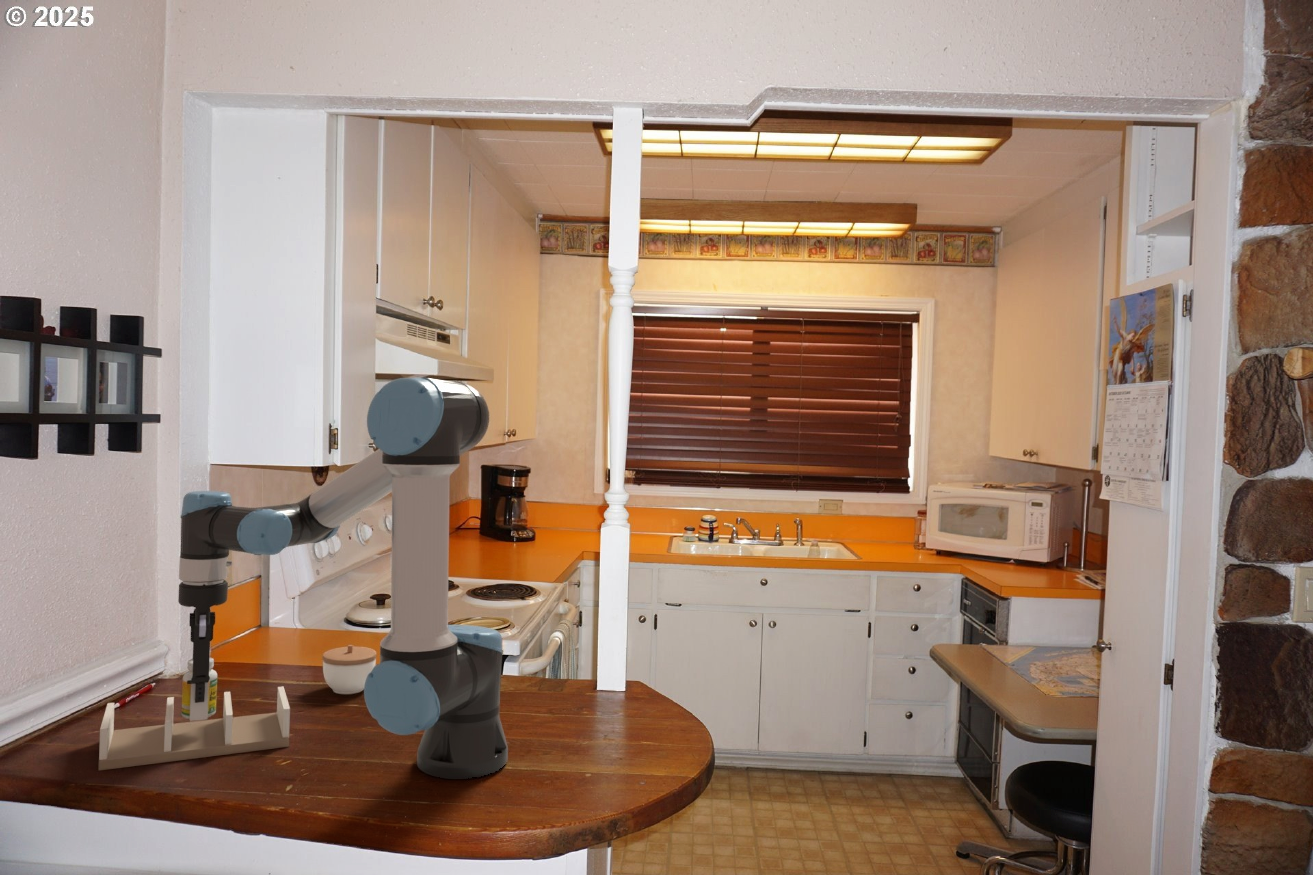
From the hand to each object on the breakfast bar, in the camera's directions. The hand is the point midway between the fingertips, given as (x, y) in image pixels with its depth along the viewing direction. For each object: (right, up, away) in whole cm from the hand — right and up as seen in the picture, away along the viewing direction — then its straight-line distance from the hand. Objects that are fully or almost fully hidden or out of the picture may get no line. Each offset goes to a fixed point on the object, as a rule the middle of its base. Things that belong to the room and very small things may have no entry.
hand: (198, 713), depth 150 cm
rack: (0, -5, 0) cm, 5 cm away
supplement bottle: (0, -1, 0) cm, 0 cm away
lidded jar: (+15, -5, +32) cm, 35 cm away
